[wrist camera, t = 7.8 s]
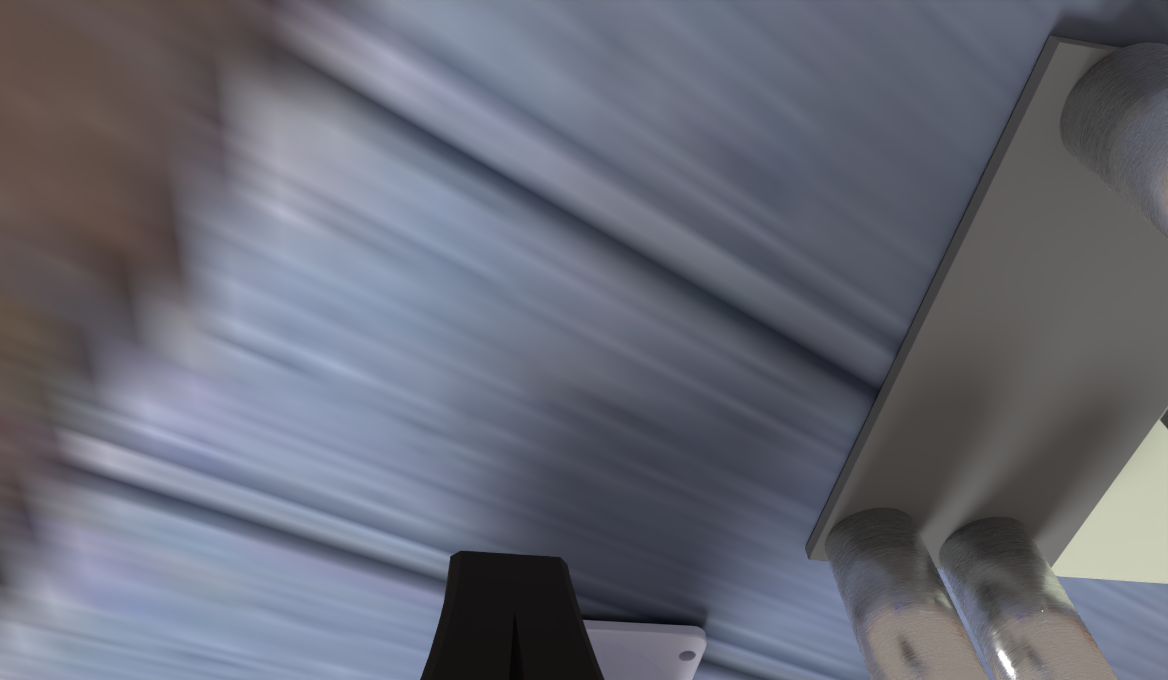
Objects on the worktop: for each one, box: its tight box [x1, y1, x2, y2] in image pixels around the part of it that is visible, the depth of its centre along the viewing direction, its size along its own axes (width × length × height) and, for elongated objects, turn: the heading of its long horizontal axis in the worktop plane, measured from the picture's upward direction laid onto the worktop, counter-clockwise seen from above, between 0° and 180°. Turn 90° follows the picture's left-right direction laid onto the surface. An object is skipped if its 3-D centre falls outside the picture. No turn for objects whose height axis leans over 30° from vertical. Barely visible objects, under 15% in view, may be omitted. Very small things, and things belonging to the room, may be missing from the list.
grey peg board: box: [825, 42, 1168, 680], centre depth 20 cm, size 16×7×5 cm, turn 170°
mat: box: [805, 35, 1168, 584], centre depth 23 cm, size 15×12×1 cm
